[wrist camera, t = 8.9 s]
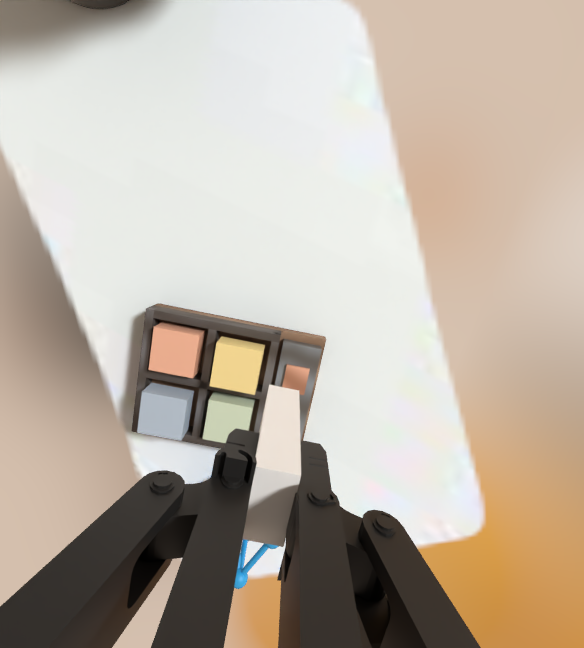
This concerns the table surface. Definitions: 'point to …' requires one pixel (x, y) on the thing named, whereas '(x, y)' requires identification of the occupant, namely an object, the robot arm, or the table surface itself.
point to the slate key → (165, 411)
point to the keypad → (276, 369)
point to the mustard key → (237, 365)
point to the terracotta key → (176, 349)
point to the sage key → (227, 415)
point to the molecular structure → (241, 572)
